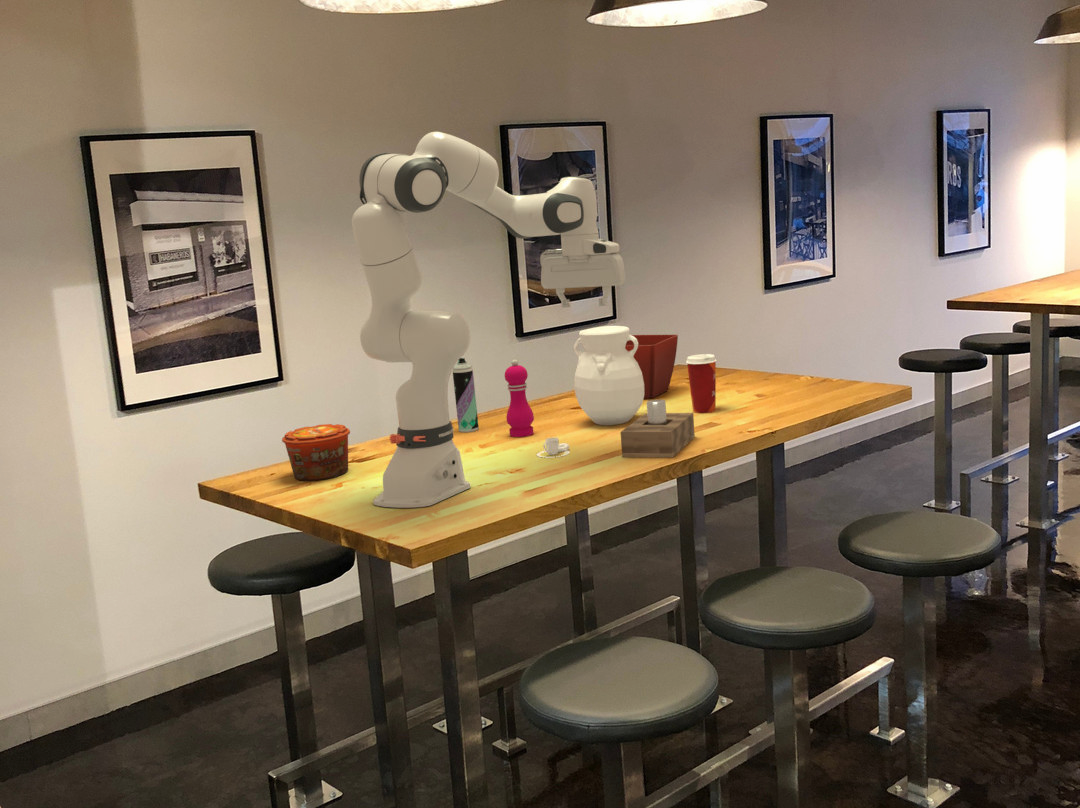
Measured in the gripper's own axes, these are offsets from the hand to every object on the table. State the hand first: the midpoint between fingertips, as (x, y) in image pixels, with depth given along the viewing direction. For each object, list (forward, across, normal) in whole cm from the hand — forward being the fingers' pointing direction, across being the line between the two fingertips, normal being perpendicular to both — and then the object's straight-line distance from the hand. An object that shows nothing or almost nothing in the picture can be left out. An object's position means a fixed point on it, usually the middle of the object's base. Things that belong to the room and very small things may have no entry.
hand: (584, 306), depth 249 cm
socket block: (+34, +16, +3) cm, 38 cm away
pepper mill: (+34, -26, +14) cm, 45 cm away
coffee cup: (+33, +16, +43) cm, 56 cm away
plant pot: (+33, -9, +66) cm, 74 cm away
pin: (+33, +16, +3) cm, 37 cm away
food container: (+36, -60, -27) cm, 75 cm away
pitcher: (+34, -6, +30) cm, 45 cm away
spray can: (+34, -44, +19) cm, 59 cm away
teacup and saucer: (+35, -6, -4) cm, 36 cm away
